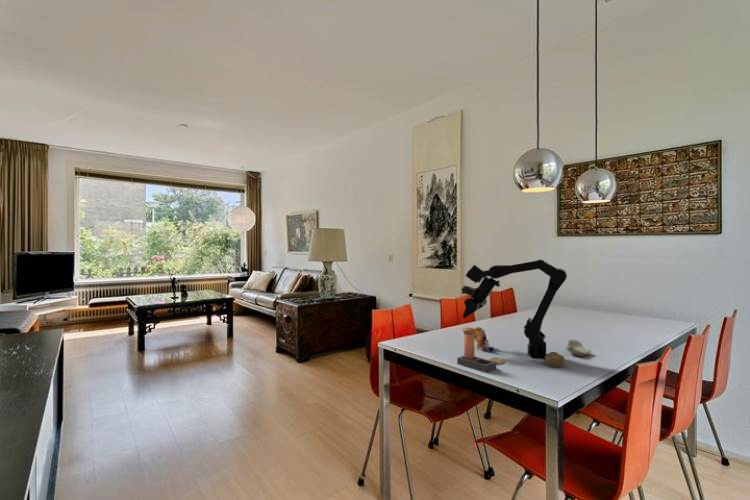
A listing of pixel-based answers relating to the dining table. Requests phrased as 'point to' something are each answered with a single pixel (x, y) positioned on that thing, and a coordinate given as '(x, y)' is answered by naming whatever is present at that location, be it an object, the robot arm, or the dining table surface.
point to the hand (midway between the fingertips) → (466, 316)
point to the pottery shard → (577, 348)
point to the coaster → (496, 360)
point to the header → (477, 364)
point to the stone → (554, 359)
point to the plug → (469, 343)
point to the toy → (481, 339)
